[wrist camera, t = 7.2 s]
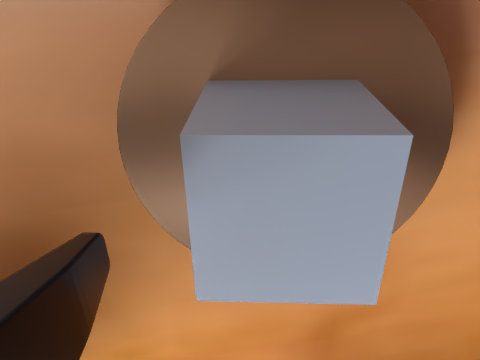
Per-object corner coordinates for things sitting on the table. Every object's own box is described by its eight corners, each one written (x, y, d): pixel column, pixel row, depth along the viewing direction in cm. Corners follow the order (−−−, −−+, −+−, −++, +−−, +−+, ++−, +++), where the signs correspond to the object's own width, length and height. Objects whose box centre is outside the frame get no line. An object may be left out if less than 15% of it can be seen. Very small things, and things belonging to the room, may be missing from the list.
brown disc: (395, 240, 18) (414, 275, 16) (156, 237, 19) (142, 271, 17) (458, -43, 13) (501, -48, 10) (113, -34, 13) (84, -37, 11)
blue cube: (340, 207, 15) (376, 304, 10) (214, 205, 15) (196, 300, 10) (357, 79, 12) (413, 135, 8) (207, 80, 12) (180, 135, 8)
